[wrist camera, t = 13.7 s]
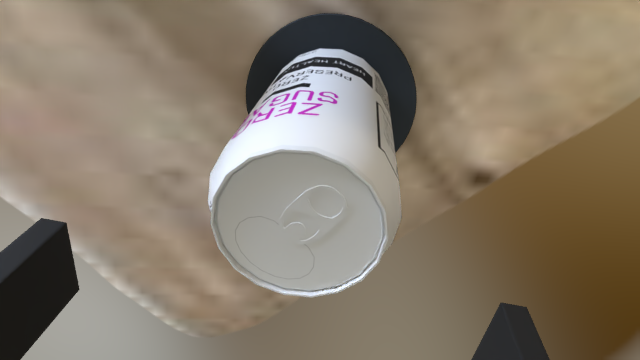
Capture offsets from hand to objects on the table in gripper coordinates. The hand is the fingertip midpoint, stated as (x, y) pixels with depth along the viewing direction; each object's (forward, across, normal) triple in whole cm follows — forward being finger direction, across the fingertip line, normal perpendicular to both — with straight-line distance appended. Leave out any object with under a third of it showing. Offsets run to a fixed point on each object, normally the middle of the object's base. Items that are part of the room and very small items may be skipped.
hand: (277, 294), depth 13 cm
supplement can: (+19, 0, 0) cm, 19 cm away
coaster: (+19, 0, 0) cm, 19 cm away
